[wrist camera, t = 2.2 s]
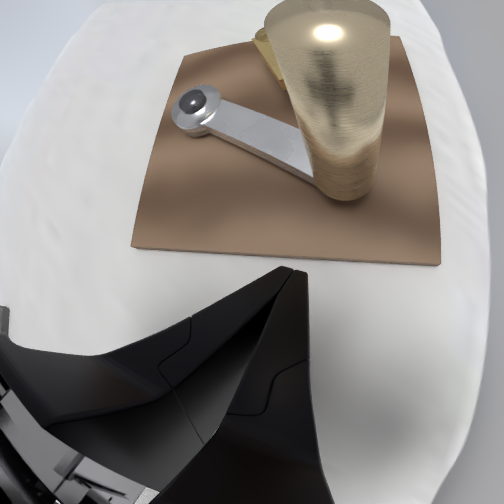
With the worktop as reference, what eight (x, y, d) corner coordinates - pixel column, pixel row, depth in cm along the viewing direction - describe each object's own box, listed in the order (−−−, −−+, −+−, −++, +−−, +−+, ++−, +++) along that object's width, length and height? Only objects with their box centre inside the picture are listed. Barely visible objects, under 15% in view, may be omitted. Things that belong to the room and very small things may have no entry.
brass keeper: (327, 96, 18) (322, 64, 15) (290, 110, 19) (279, 80, 16) (291, 48, 20) (282, 20, 17) (259, 60, 21) (247, 33, 18)
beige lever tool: (172, 128, 21) (79, 38, 11) (202, 92, 21) (126, -5, 11) (352, 224, 16) (355, 74, 5) (384, 171, 16) (407, 6, 5)
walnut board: (436, 266, 15) (441, 263, 14) (136, 248, 21) (130, 246, 21) (399, 42, 18) (399, 36, 17) (187, 60, 25) (184, 56, 24)
